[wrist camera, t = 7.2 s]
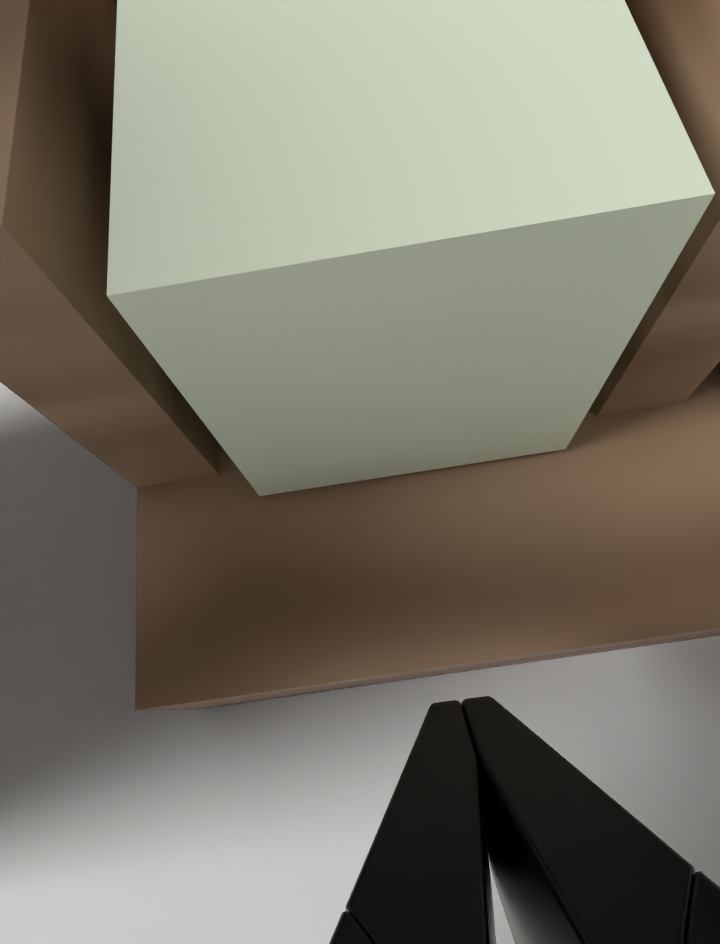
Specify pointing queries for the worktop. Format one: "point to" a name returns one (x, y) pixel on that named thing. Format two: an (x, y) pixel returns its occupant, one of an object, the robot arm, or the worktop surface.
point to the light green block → (390, 221)
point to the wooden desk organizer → (374, 500)
